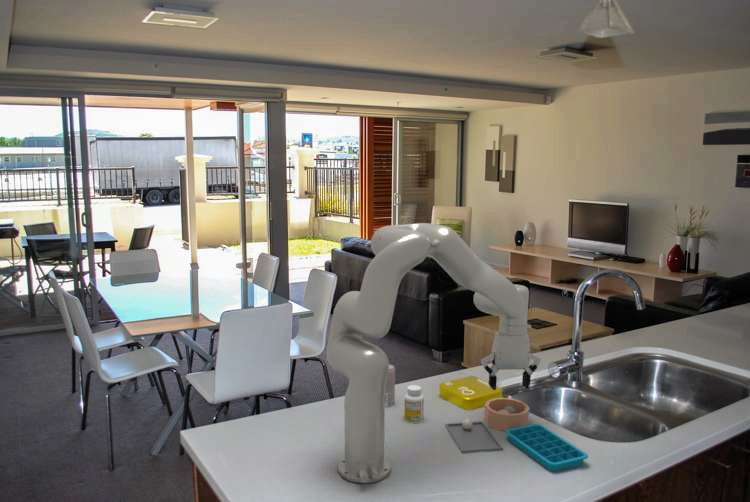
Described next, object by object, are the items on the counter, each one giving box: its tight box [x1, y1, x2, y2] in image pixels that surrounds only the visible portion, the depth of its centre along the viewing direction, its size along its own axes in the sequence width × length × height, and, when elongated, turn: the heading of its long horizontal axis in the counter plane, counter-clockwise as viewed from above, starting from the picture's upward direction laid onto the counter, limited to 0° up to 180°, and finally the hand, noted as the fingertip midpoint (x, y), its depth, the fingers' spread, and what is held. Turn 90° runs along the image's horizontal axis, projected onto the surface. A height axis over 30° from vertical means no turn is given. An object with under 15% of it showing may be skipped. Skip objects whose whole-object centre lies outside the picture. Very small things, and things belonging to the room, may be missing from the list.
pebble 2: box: [498, 409, 510, 414], centre depth 173 cm, size 4×4×4 cm
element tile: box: [438, 375, 503, 411], centre depth 192 cm, size 15×15×5 cm
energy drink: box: [385, 363, 396, 408], centre depth 186 cm, size 5×5×12 cm
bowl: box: [483, 397, 530, 432], centre depth 174 cm, size 12×12×5 cm
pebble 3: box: [504, 406, 516, 414], centre depth 176 cm, size 4×4×4 cm
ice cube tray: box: [504, 423, 589, 472], centre depth 157 cm, size 12×20×3 cm, turn 23°
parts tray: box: [444, 421, 504, 454], centre depth 165 cm, size 16×11×1 cm
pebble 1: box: [461, 417, 474, 430], centre depth 169 cm, size 3×3×3 cm
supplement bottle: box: [404, 384, 425, 424], centre depth 176 cm, size 5×5×10 cm
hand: (509, 387), depth 174 cm, fingers open, 9 cm apart
